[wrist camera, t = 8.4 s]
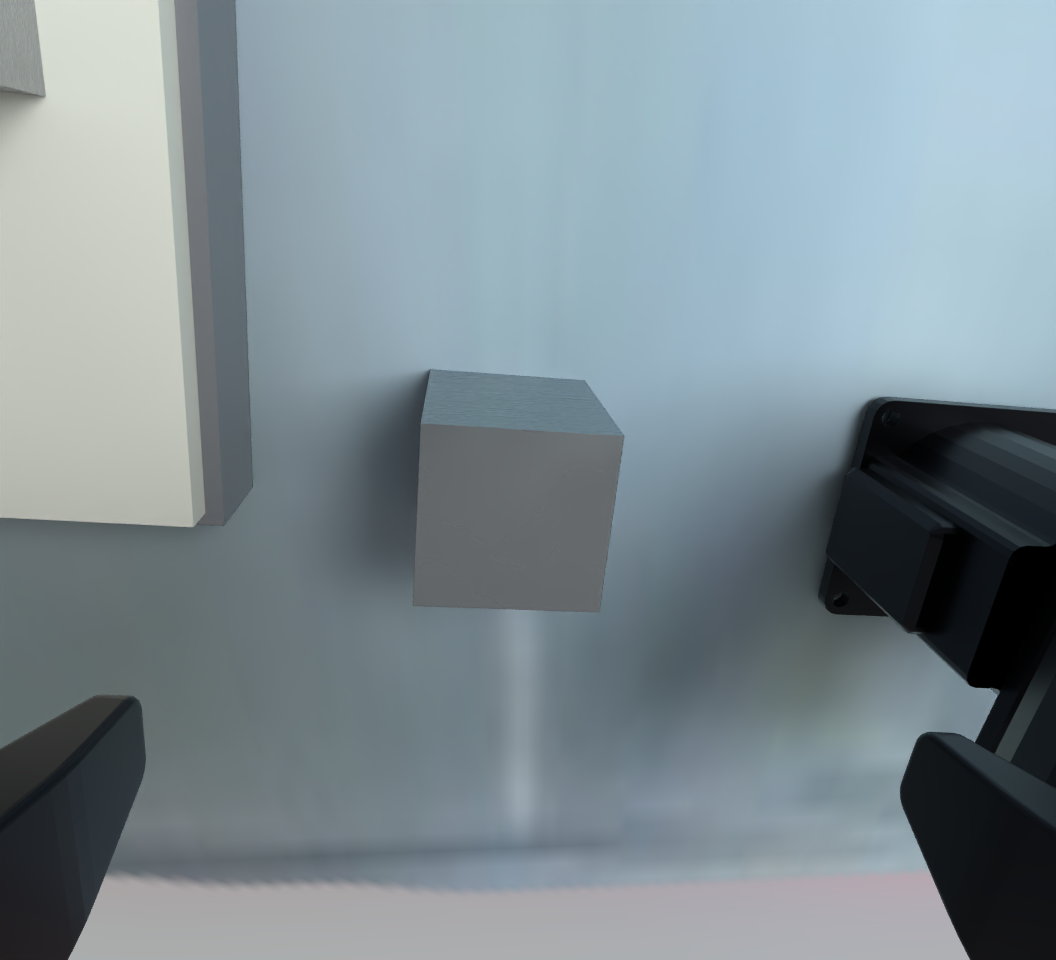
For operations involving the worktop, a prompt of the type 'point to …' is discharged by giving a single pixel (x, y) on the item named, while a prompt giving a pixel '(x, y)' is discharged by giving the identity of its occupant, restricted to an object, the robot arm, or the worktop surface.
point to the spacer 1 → (20, 49)
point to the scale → (125, 270)
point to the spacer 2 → (514, 493)
